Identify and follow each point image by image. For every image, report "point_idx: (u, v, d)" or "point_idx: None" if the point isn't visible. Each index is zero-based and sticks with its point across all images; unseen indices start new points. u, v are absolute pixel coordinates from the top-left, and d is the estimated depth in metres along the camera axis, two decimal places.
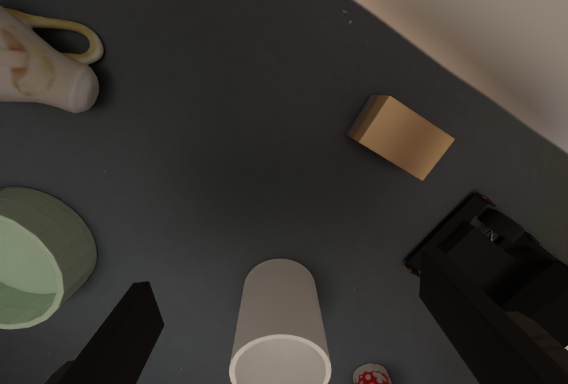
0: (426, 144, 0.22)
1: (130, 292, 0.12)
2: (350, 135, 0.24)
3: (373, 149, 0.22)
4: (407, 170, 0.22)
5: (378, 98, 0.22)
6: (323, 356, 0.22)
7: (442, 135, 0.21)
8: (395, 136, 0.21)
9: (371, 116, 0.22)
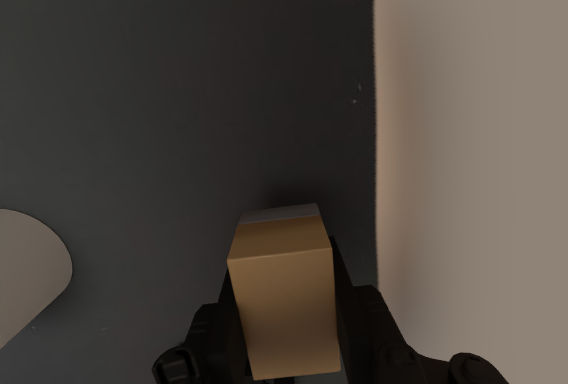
0: (305, 346, 0.12)
1: None
2: (239, 225, 0.13)
3: (235, 289, 0.11)
4: (249, 353, 0.12)
5: (317, 225, 0.12)
6: None
7: (333, 354, 0.12)
8: (281, 302, 0.11)
9: (282, 242, 0.11)
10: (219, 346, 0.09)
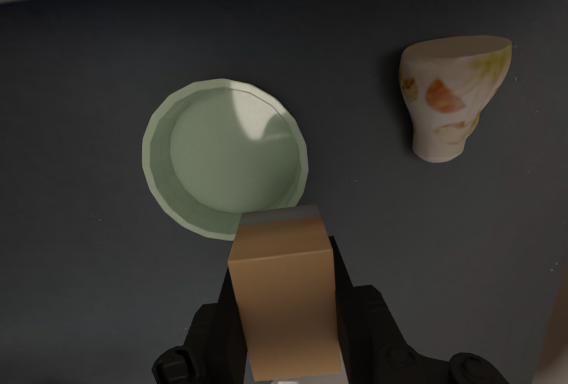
0: (305, 348, 0.12)
1: None
2: (239, 226, 0.13)
3: (236, 290, 0.11)
4: (250, 354, 0.12)
5: (317, 226, 0.12)
6: None
7: (333, 356, 0.12)
8: (281, 303, 0.11)
9: (283, 244, 0.11)
10: (219, 346, 0.09)
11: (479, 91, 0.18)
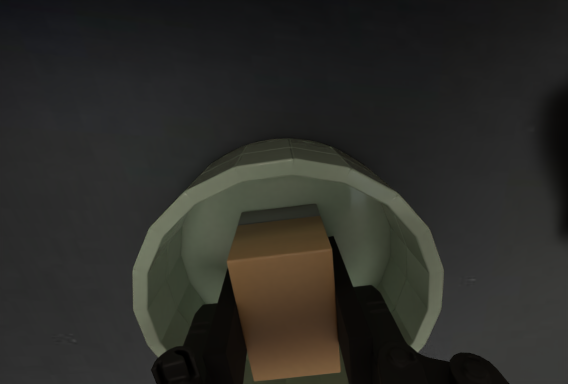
0: (305, 348, 0.12)
1: None
2: (239, 226, 0.13)
3: (235, 290, 0.11)
4: (249, 354, 0.12)
5: (317, 226, 0.12)
6: None
7: (333, 356, 0.12)
8: (280, 303, 0.11)
9: (282, 243, 0.11)
10: (219, 346, 0.09)
11: None
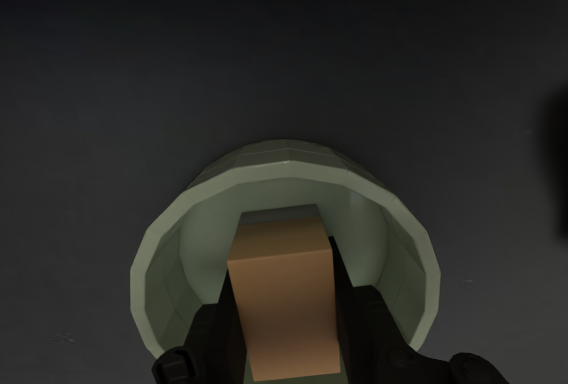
0: (305, 348, 0.12)
1: None
2: (239, 226, 0.13)
3: (235, 290, 0.11)
4: (249, 354, 0.12)
5: (317, 226, 0.12)
6: None
7: (333, 356, 0.12)
8: (280, 304, 0.11)
9: (282, 243, 0.11)
10: (219, 346, 0.09)
11: None
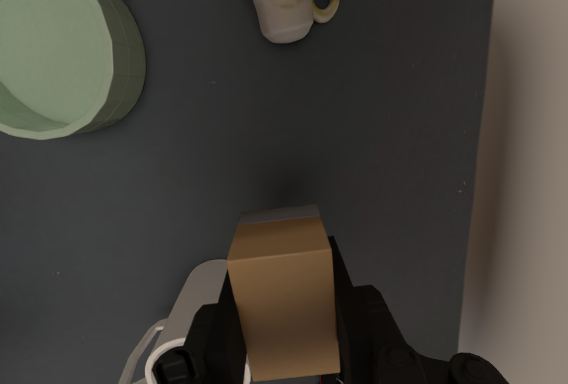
0: (304, 348, 0.12)
1: None
2: (238, 226, 0.13)
3: (235, 290, 0.11)
4: (249, 354, 0.12)
5: (316, 226, 0.12)
6: None
7: (332, 356, 0.12)
8: (280, 304, 0.11)
9: (281, 243, 0.11)
10: (219, 346, 0.09)
11: None
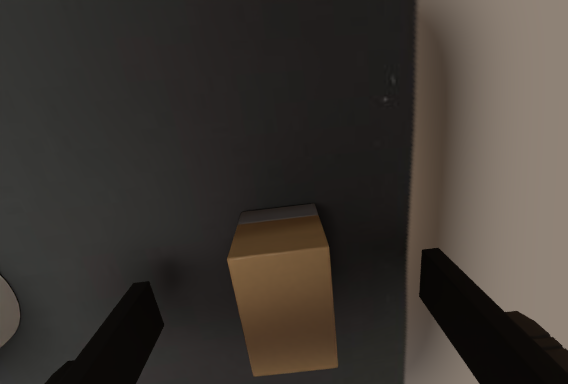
0: (303, 343, 0.12)
1: (130, 292, 0.12)
2: (239, 225, 0.13)
3: (235, 287, 0.11)
4: (249, 350, 0.12)
5: (315, 225, 0.12)
6: None
7: (330, 351, 0.12)
8: (279, 300, 0.11)
9: (281, 241, 0.11)
10: None
11: None
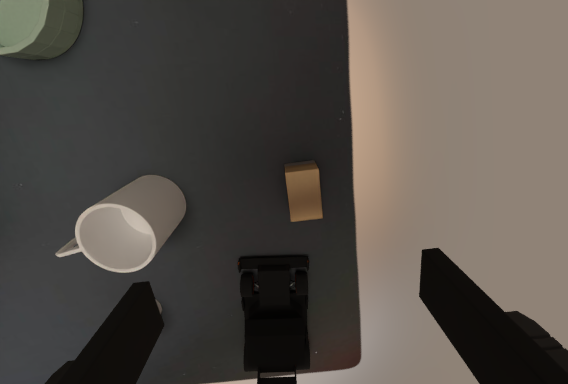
0: (309, 207, 0.34)
1: (130, 292, 0.12)
2: (285, 166, 0.35)
3: (287, 183, 0.33)
4: (290, 209, 0.34)
5: (314, 164, 0.34)
6: (151, 253, 0.29)
7: (319, 210, 0.34)
8: (302, 188, 0.33)
9: (302, 168, 0.33)
10: None
11: None
